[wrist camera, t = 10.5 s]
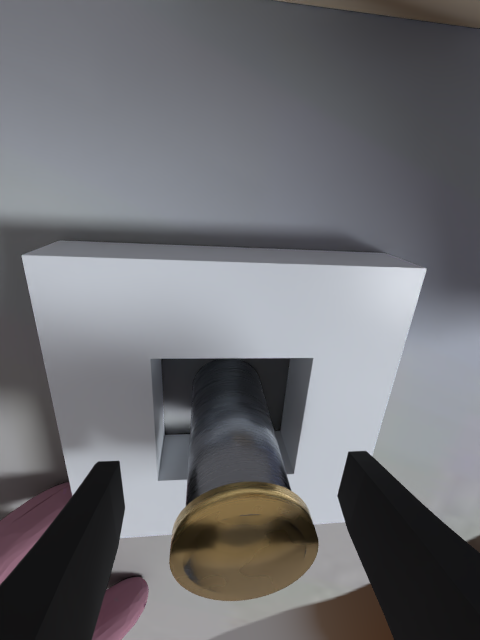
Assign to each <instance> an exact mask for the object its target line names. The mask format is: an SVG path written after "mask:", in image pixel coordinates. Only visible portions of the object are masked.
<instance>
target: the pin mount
mask: <svg viewBox="0 0 480 640" xmlns="http://www.w3.org/2000/svg"><path fill="white" fill-rule="evenodd" d="M275 1H283V2H290V3H297V4H305V5H312V6H319V7H326V8H334V9H341V10H348V11H356V12H363V13H370V14H378V15H385V16H392V17H400V18H407V19H414V20H422V21H429V22H436V23H443V24H451V25H458V26H465V27H473V28H480V0H275Z"/></svg>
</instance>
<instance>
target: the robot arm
mask: <svg viewBox="0 0 480 640" xmlns="http://www.w3.org/2000/svg"><path fill="white" fill-rule="evenodd" d="M337 497H338V500H339V503H340V507H341V510H342V514H343V517H344V520H345V523H346V526H347V529H348V532H349V534H350V537H351V539H352V541H353V544H354V546H355V548H356V551H357V553H358V555H359V558H360V560H361V562H362V565H363V567H364V569H365V572H366V574H367V576H368V578H369V581H370V583H371V585H372V588H373V590H374V592H375V595H376V597H377V599H378V601H379V604H380V606H381V608H382V610H383V613H384V615H385V618H386V620H387V623H388V625H389V628H390V630H391V633H392V635H393V638H394V640H480V553H479V552H478V551H477V550H475V549H474V548H473V547H472V546H470V545H469V544H468V543H467V542H466V541H464V540H463V539H462V538H461V537H460V536H459V535H457V534H456V533H455V532H454V531H453V530H451V529H450V528H449V527H448V526H447V525H446V524H444V523H443V522H442V521H441V520H440V519H439V518H438V517H437V516H435V515H434V514H433V513H432V512H431V511H430V510H429V509H428V508H426V507H425V506H424V505H423V504H422V503H421V502H420V501H419V500H418V499H417V498H416V497H414V496H413V495H412V494H411V493H410V492H409V491H408V490H407V489H406V488H405V487H404V486H403V485H402V484H401V483H400V482H399V481H397V480H396V479H395V478H394V477H393V476H392V475H391V474H390V473H389V472H388V471H387V470H386V469H385V468H384V467H383V466H382V465H381V464H380V463H379V462H378V461H377V460H375V459H374V458H373V457H372V456H371V455H370V454H369V453H368V452H367V451H349V452H348V455H347V459H346V463H345V467H344V471H343V475H342V479H341V483H340V487H339V491H338V495H337ZM124 512H125V502H124V494H123V486H122V478H121V469H120V461H98V462H97V463H96V464H95V465H94V466H93V468H92V469H91V471H90V472H89V473H88V475H87V476H86V478H85V479H84V481H83V482H82V483H81V485H80V486H79V488H78V489H77V490H76V492H75V493H74V494H73V496H72V497H71V498H70V500H69V501H68V502H67V504H66V505H65V506H64V508H63V509H62V510H61V512H60V513H59V514H58V516H57V517H56V518H55V519H54V521H53V522H52V523H51V524H50V526H49V527H48V528H47V530H46V531H45V532H44V533H43V535H42V536H41V537H40V538H39V540H38V541H37V542H36V543H35V545H34V546H33V547H32V548H31V549H30V550H29V552H28V553H27V554H26V555H25V556H24V558H23V559H22V560H21V561H20V562H19V563H18V565H17V566H16V567H15V568H14V569H13V571H12V572H11V573H10V574H9V575H8V576H7V578H6V579H5V580H4V581H3V582H2V583H1V584H0V640H92V637H93V634H94V630H95V627H96V623H97V620H98V616H99V613H100V609H101V606H102V602H103V599H104V595H105V592H106V588H107V585H108V581H109V578H110V574H111V571H112V567H113V563H114V560H115V556H116V553H117V549H118V545H119V539H120V534H121V529H122V523H123V518H124Z"/></svg>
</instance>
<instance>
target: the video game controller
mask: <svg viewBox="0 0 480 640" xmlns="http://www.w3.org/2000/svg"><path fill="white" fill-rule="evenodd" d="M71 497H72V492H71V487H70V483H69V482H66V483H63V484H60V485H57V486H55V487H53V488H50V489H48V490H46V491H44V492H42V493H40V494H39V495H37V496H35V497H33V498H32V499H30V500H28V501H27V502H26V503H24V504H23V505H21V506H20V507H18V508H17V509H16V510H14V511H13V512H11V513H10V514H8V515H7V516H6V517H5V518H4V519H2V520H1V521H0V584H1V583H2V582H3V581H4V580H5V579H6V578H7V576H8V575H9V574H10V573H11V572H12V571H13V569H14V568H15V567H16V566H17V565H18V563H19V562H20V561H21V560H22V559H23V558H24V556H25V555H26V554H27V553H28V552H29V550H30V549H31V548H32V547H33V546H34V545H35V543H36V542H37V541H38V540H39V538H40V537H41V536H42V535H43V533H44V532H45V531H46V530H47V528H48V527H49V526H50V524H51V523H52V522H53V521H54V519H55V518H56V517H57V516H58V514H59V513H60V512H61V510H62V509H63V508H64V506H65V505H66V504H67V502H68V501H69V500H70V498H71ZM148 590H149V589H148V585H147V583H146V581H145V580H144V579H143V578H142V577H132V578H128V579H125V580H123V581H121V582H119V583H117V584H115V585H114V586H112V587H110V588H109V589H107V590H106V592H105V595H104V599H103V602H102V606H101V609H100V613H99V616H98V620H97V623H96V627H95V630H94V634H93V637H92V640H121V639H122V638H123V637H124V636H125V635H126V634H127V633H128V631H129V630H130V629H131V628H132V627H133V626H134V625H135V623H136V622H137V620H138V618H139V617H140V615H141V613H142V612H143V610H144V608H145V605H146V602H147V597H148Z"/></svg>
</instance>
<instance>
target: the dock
mask: <svg viewBox="0 0 480 640" xmlns="http://www.w3.org/2000/svg"><path fill="white" fill-rule="evenodd" d="M21 256H22V261H23V265H24V270H25V275H26V280H27V284H28V289H29V294H30V298H31V303H32V308H33V313H34V317H35V322H36V327H37V331H38V336H39V341H40V346H41V350H42V355H43V360H44V365H45V369H46V374H47V379H48V383H49V388H50V393H51V398H52V402H53V407H54V412H55V416H56V421H57V426H58V431H59V435H60V440H61V445H62V449H63V454H64V459H65V464H66V468H67V473H68V478H69V483H70V487H71V492H72V496H73V494H74V493H75V492H76V490H77V489H78V488H79V486H80V485H81V483H82V482H83V481H84V479H85V478H86V476H87V475H88V473H89V472H90V471H91V469H92V468H93V466H94V465H95V464H96V463H97V462H98V461H120V469H121V478H122V486H123V494H124V502H125V512H124V518H123V523H122V529H121V534H120V538H130V537H144V536H158V535H172V530H173V526H174V523H175V521H176V519H177V517H178V515H179V514H180V512H181V511H182V510H183V509H184V508H185V507H186V493H187V476H188V459H189V442H190V434H175V435H165V429H164V407H163V385H162V363H161V359H199V358H290V364H289V371H288V378H287V386H286V393H285V400H284V408H283V415H282V422H281V430H280V431H274V432H275V435H276V439H277V442H278V446H279V449H280V453H281V456H282V460H283V463H284V467H285V470H286V474H287V477H288V481H289V484H290V488H291V491H292V492H294V493H295V494H297V495H298V496H299V497H300V498H301V499H302V500H303V501H304V502H305V504H306V505H307V507H308V509H309V512H310V515H311V518H312V521H313V524H326V523H340V522H345V520H344V517H343V514H342V510H341V507H340V503H339V500H338V497H337V495H338V491H339V487H340V483H341V479H342V475H343V471H344V467H345V463H346V459H347V455H348V452H349V451H367V452H368V453H369V454H370V455H371V456H372V455H373V452H374V448H375V445H376V441H377V438H378V434H379V431H380V428H381V424H382V421H383V417H384V414H385V410H386V407H387V404H388V400H389V397H390V393H391V390H392V386H393V383H394V380H395V376H396V373H397V369H398V366H399V362H400V359H401V356H402V352H403V349H404V345H405V342H406V338H407V335H408V332H409V328H410V325H411V321H412V318H413V314H414V311H415V308H416V304H417V301H418V297H419V294H420V290H421V287H422V284H423V280H424V277H425V273H426V270H427V268H424V267H422V266H419V265H416V264H414V263H411V262H408V261H406V260H403V259H400V258H398V257H395V256H392V255H389V254H387V253H373V252H348V251H322V250H296V249H270V248H244V247H218V246H192V245H166V244H140V243H114V242H88V241H62V240H59V241H57V242H54V243H51V244H49V245H46V246H44V247H41V248H38V249H36V250H33V251H31V252H28V253H26V254H23V255H21Z"/></svg>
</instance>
